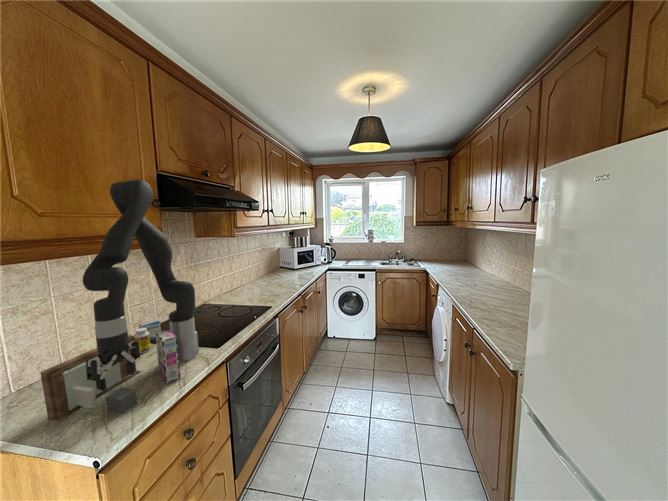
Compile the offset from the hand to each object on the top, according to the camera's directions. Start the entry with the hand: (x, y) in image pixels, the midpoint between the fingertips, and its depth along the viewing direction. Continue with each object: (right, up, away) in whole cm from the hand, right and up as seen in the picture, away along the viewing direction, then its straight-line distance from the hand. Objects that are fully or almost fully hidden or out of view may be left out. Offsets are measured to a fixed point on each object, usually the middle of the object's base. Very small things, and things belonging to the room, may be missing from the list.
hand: (117, 381), depth 84 cm
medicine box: (-24, -3, +51) cm, 56 cm away
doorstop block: (+1, -9, +1) cm, 9 cm away
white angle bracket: (-9, -8, +6) cm, 13 cm away
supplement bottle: (-19, -5, +38) cm, 43 cm away
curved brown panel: (-13, -8, +9) cm, 18 cm away
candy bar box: (+5, -7, +19) cm, 21 cm away
